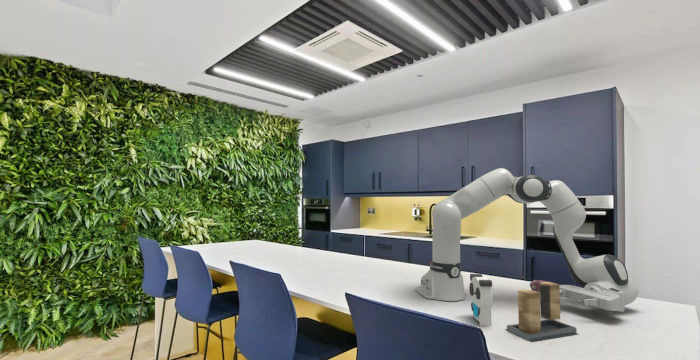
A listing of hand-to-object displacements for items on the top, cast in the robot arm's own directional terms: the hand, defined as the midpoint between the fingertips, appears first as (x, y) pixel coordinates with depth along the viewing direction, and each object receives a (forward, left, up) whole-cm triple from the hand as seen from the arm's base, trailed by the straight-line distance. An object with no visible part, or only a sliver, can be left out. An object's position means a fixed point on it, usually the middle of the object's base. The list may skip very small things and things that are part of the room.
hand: (569, 298), depth 120 cm
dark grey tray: (+9, -23, -6) cm, 26 cm away
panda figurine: (-4, -34, -7) cm, 35 cm away
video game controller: (-26, +18, -7) cm, 32 cm away
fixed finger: (+9, -28, -5) cm, 30 cm away
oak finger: (0, -9, -6) cm, 11 cm away
